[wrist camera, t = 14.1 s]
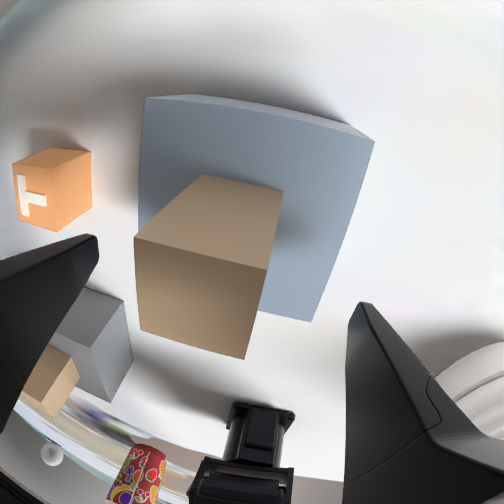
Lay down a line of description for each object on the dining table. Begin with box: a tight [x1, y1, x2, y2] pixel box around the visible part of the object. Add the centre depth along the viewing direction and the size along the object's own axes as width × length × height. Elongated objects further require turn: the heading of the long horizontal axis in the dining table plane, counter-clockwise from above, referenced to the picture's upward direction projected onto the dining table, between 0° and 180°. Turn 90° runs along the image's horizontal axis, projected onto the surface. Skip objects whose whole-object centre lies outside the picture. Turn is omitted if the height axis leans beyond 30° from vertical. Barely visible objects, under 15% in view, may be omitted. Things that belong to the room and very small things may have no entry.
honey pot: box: [435, 342, 504, 440], centre depth 14 cm, size 13×13×18 cm
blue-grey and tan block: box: [134, 94, 375, 360], centre depth 11 cm, size 8×8×10 cm
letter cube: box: [12, 148, 92, 232], centre depth 16 cm, size 4×4×4 cm
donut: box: [41, 442, 63, 466], centre depth 67 cm, size 10×3×10 cm, turn 90°
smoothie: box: [105, 444, 166, 504], centre depth 34 cm, size 8×8×20 cm
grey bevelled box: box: [21, 287, 133, 420], centre depth 20 cm, size 8×8×10 cm
